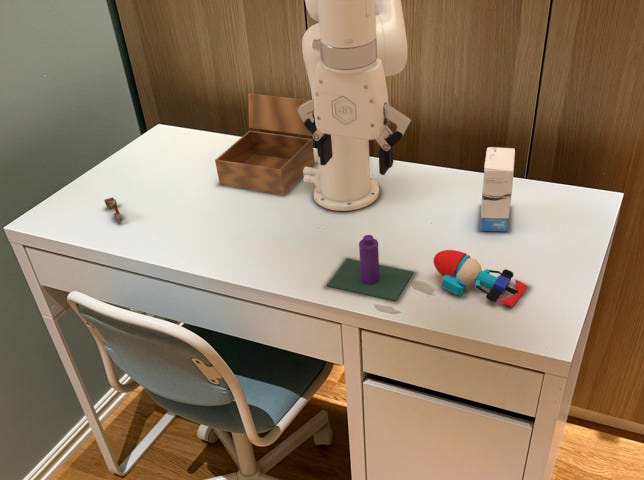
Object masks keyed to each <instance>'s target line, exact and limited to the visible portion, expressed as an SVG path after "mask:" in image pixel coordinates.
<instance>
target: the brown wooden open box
mask: <svg viewBox="0 0 644 480" xmlns="http://www.w3.org/2000/svg"><path fill="white" fill-rule="evenodd" d="M313 140H314V139H313V138H307V137H299V136H293V135H287V134H277V133H270V132H263V131H255V130H248V131H247V132H246V133H245V134H243V135H242V136H241V137H240V138H239V139H238V140H236V141H235V142H234V143H233V144H232V145H230V146H229V147H228V149H226V150H225V151H223V153H221V154H220V155H219V156H218V157H216V158H215V160H214V163H215V167H216V172H217V176H218V182H219V185H220V186H224V187H230V188H235V189H236V188H237V189H244V190H249V191H255V192H259V193H266V194H272V195H278V196H283V197H284V196H286V195H287V194H288V192H289V191H290V190H291V189H292V188H293V187H294V186H295V185H296V184H297V183H298V182H299V181H300V180H301V179H302V178H303V177H304V176H303V169H304V167H312V168H313V166H315V164H316V161H315V151H314V141H313Z"/></svg>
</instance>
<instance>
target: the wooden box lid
mask: <svg viewBox="0 0 644 480" xmlns="http://www.w3.org/2000/svg"><path fill="white" fill-rule="evenodd" d="M247 100H248V101H247V103H248V109H247V110H248V129H256V130H263V131H271V132H276V133H277V132H278V133H285V134H292V135H293V134H294V135H300V136H301V135H302V136H309V137H313V135H312V133H311V132H310V131H309V130H308V129H307V128H306V127H305V126H304V121H303V120H302V119H301V117H300V115H299V113H298V111H297V109H298V108H299V107H300V106H301V105H302V104H304V103H306V102H308V101H310V100H311V99H300V98H291V97H283V96H274V95H266V94H258V93H247ZM311 113H312V116H313V117H314V111H311Z"/></svg>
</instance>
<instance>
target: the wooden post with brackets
mask: <svg viewBox="0 0 644 480" xmlns="http://www.w3.org/2000/svg"><path fill="white" fill-rule="evenodd" d="M103 201H104V204H105V206H106V209H107V210H108V209H110V208H113V209H114V212H115V213H113V215H114V218H115V219H116V220H118V222H120V223H121V222H123V218H122V214H121V212H120V211H119V208H118V202H117V199H115V197H113V196H112V197H109V198H105V199H103Z"/></svg>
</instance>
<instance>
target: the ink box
mask: <svg viewBox="0 0 644 480" xmlns="http://www.w3.org/2000/svg"><path fill="white" fill-rule="evenodd" d="M515 149H516V148H513V147H497V146H488V147H487V148H486V152H485V161H484V165H483V168H484V169H483V170H484V171H483V179H482V189H481V191H482V192H481V203H480V204H481V205H480V222H479V223H480V225H479V231H482V232H508V229H509V220H510V212H511V211H510V210H511V205H512V204H511V203H512V194H513V183H514V173H515V172H514V171H515V156H516V150H515Z"/></svg>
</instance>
